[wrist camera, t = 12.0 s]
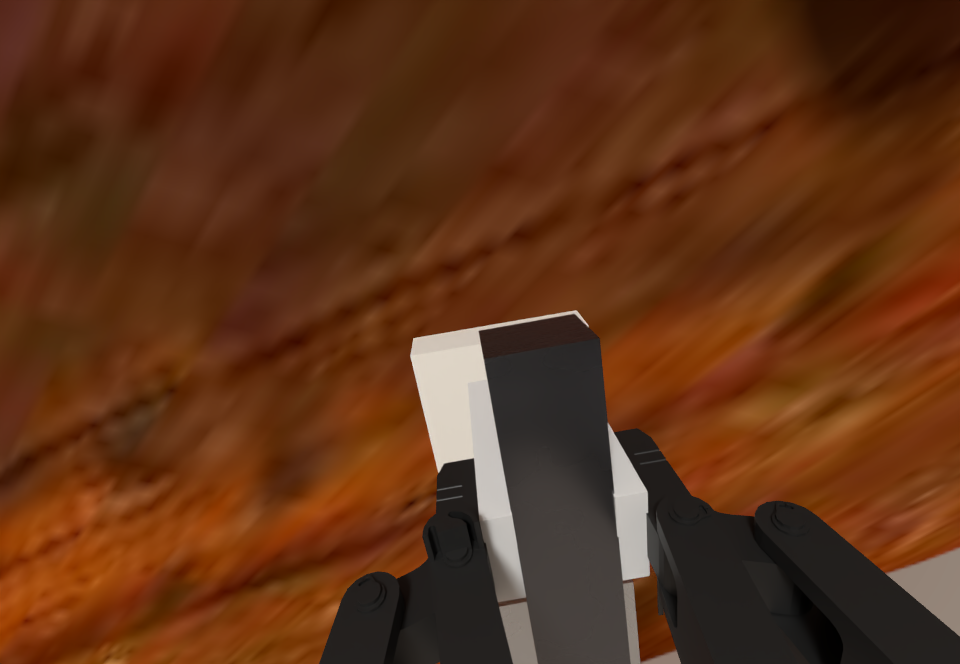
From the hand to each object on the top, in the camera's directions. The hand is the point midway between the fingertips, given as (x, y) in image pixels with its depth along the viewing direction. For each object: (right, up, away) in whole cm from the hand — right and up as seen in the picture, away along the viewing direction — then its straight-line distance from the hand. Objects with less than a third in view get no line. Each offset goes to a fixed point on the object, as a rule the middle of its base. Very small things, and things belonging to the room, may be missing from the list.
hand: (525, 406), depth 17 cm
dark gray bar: (+1, -7, +2) cm, 7 cm away
